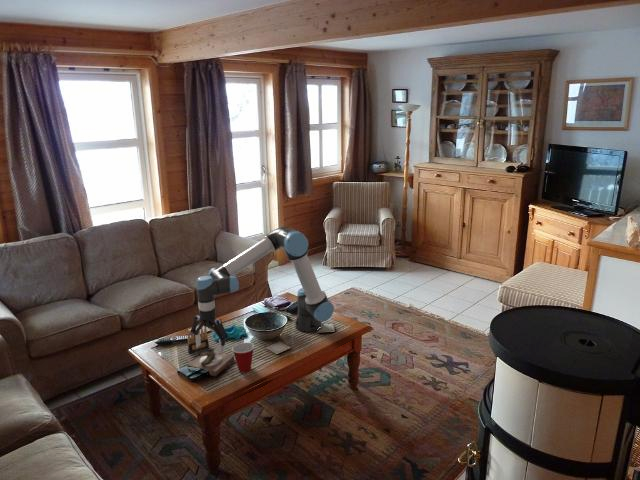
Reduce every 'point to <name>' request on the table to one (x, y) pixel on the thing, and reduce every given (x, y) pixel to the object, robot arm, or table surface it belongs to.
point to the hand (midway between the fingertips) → (210, 348)
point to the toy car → (233, 333)
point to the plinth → (213, 363)
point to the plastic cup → (243, 356)
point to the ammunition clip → (192, 341)
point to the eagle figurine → (208, 355)
